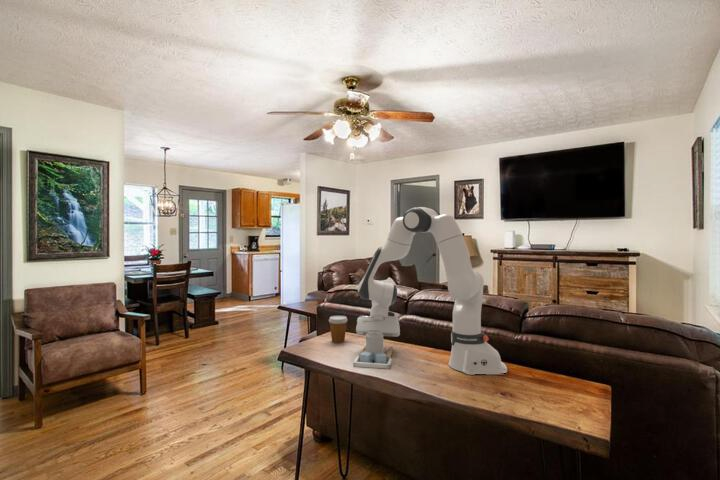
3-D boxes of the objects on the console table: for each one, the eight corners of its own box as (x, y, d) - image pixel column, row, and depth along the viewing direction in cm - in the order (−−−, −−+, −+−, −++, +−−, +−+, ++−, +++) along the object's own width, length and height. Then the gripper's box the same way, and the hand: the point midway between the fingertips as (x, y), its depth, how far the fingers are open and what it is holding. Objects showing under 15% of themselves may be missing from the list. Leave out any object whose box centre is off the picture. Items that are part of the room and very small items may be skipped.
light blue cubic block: (372, 362, 152) (372, 352, 152) (368, 365, 148) (368, 355, 148) (364, 360, 154) (364, 351, 154) (359, 363, 150) (359, 354, 150)
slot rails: (393, 349, 168) (393, 346, 168) (389, 361, 152) (389, 357, 152) (365, 348, 170) (365, 344, 170) (359, 359, 155) (359, 356, 154)
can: (363, 360, 153) (363, 332, 153) (369, 355, 160) (369, 328, 160) (380, 362, 151) (380, 334, 151) (385, 357, 158) (385, 329, 158)
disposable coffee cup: (347, 344, 177) (347, 319, 176) (327, 344, 177) (327, 319, 177) (348, 338, 186) (348, 315, 186) (329, 338, 186) (329, 315, 186)
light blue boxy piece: (383, 361, 153) (383, 352, 152) (386, 365, 149) (386, 355, 149) (374, 362, 152) (374, 353, 152) (376, 365, 148) (377, 356, 148)
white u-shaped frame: (391, 361, 152) (391, 358, 152) (389, 368, 144) (389, 364, 144) (357, 359, 155) (357, 356, 155) (353, 366, 147) (353, 362, 147)
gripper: (356, 312, 170) (352, 338, 161) (400, 313, 167) (398, 341, 157) (358, 319, 175) (354, 345, 165) (400, 321, 171) (399, 348, 162)
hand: (376, 343), depth 161 cm, fingers closed
